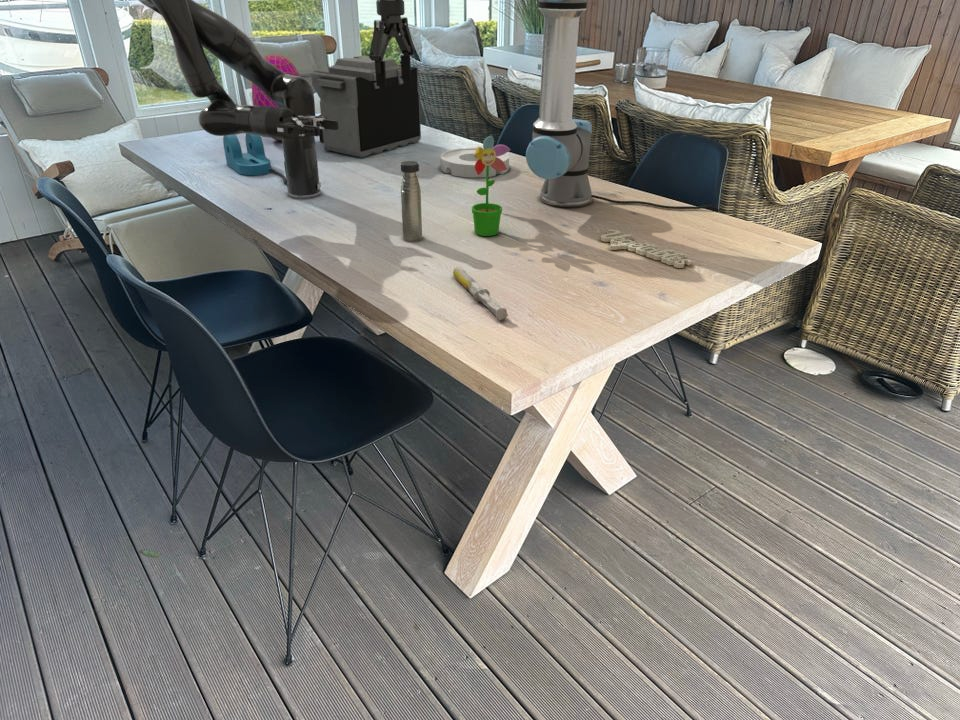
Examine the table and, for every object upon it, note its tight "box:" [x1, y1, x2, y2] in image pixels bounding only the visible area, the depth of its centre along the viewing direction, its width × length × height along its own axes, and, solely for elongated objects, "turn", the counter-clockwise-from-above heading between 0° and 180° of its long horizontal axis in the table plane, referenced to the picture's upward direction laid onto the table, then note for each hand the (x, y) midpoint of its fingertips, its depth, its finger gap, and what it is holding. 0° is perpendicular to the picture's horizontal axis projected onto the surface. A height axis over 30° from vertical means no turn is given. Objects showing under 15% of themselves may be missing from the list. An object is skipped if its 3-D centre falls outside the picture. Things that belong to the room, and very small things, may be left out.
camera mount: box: [222, 134, 272, 176], centre depth 226 cm, size 18×10×10 cm, turn 35°
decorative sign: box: [600, 229, 691, 269], centre depth 168 cm, size 26×1×10 cm
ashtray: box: [439, 147, 510, 178], centre depth 231 cm, size 23×23×4 cm
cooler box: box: [310, 55, 422, 159], centre depth 250 cm, size 37×22×30 cm, turn 144°
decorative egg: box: [251, 54, 301, 142], centre depth 257 cm, size 19×19×30 cm
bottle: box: [400, 172, 423, 242], centre depth 170 cm, size 5×5×19 cm
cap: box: [400, 160, 420, 173], centre depth 166 cm, size 4×4×2 cm
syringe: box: [452, 266, 509, 321], centre depth 145 cm, size 25×4×3 cm, turn 21°
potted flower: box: [471, 135, 511, 237], centre depth 172 cm, size 9×8×25 cm
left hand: (328, 128), depth 168 cm, fingers open, 8 cm apart
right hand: (394, 83), depth 195 cm, fingers open, 13 cm apart
